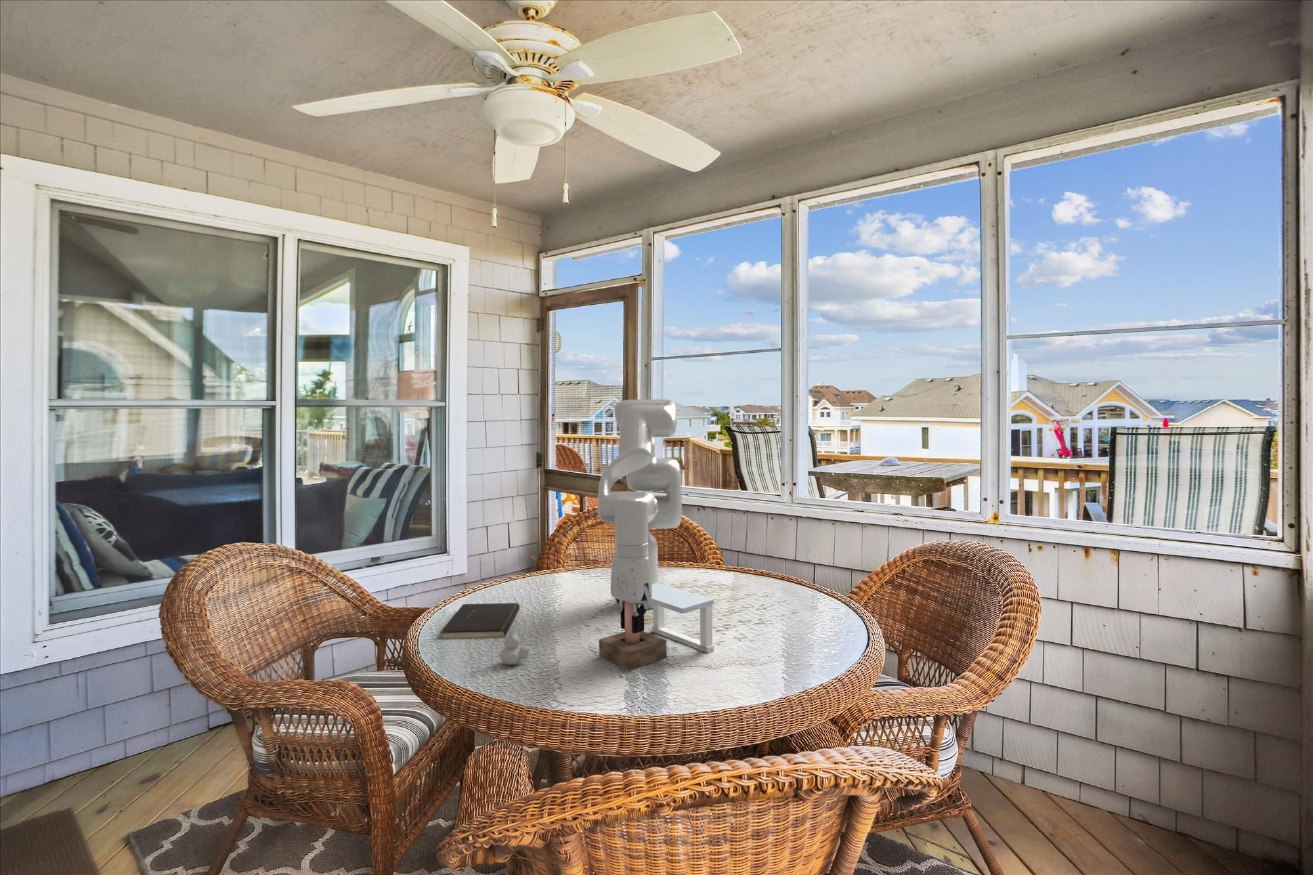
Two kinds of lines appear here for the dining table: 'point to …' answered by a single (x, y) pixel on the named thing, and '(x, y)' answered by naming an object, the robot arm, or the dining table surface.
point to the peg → (630, 625)
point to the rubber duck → (513, 650)
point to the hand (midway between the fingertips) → (632, 628)
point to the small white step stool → (682, 604)
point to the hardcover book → (481, 620)
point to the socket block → (632, 650)
